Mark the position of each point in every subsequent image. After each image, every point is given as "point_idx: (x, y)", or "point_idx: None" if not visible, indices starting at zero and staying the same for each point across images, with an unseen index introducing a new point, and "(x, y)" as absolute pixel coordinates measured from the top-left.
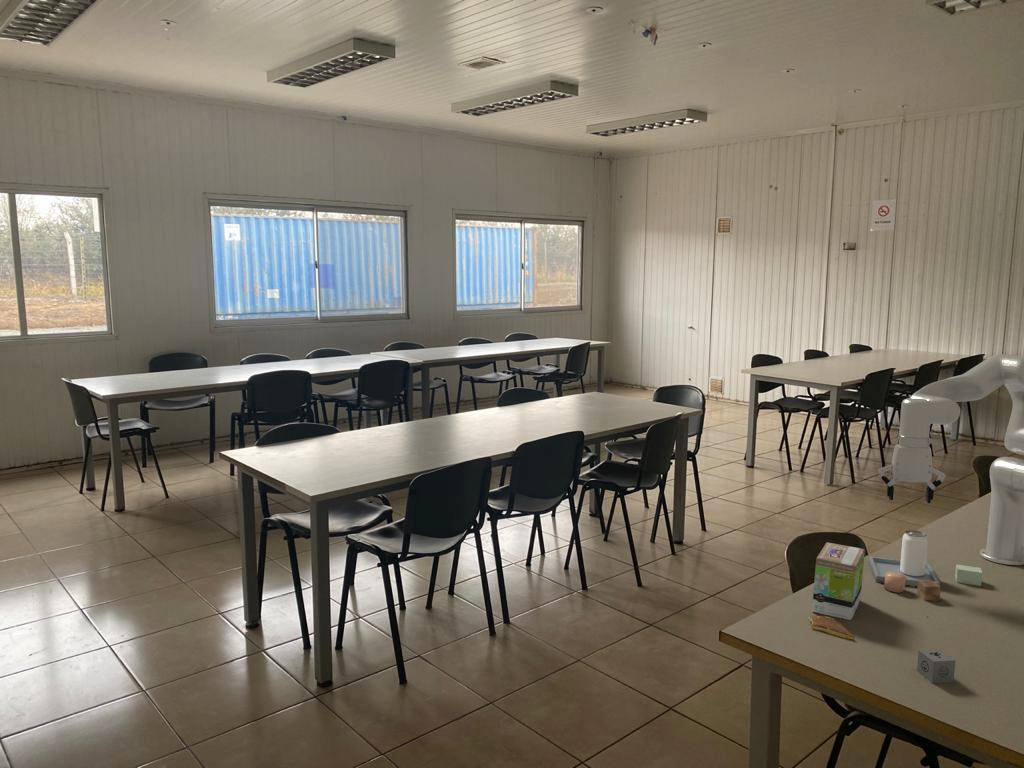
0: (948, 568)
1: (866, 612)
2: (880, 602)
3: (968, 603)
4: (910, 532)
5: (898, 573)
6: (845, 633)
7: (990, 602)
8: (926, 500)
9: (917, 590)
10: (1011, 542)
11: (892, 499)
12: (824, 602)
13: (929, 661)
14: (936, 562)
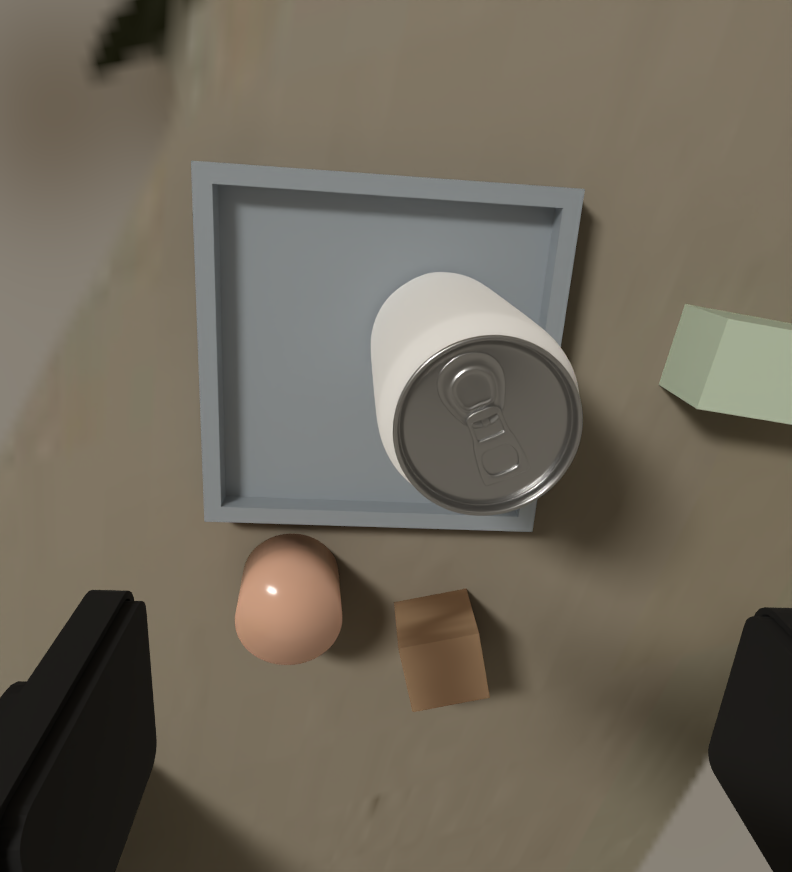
0: (713, 142)
1: (140, 831)
2: (207, 731)
3: (599, 640)
4: (454, 383)
5: (310, 584)
6: None
7: (707, 603)
8: (736, 682)
9: (395, 614)
10: None
11: (145, 758)
12: None
13: None
14: (681, 25)
